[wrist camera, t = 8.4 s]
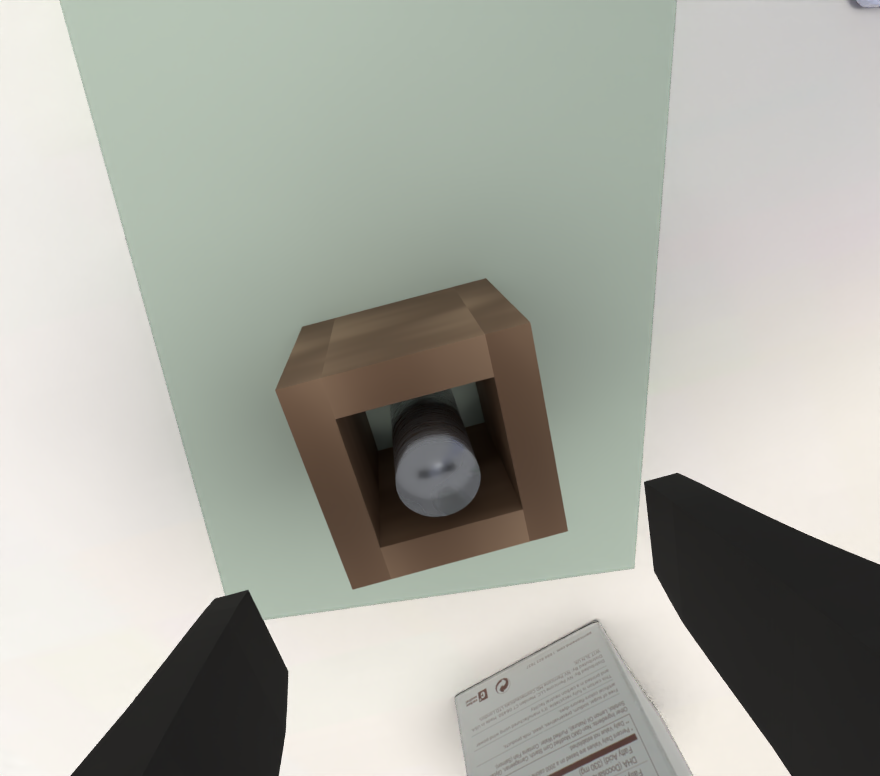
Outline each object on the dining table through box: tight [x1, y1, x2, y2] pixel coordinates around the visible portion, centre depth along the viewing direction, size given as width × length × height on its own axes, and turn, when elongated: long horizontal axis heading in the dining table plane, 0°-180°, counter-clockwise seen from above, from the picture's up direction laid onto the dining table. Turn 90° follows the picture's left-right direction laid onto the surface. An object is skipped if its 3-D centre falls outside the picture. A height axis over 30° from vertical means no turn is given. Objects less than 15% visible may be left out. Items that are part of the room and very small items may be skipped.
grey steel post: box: [390, 388, 481, 517], centre depth 15 cm, size 2×2×5 cm
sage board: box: [59, 0, 677, 620], centre depth 17 cm, size 15×20×1 cm
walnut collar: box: [275, 278, 568, 590], centre depth 15 cm, size 6×6×5 cm
